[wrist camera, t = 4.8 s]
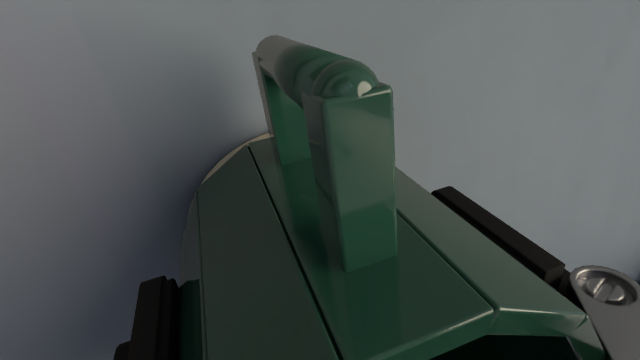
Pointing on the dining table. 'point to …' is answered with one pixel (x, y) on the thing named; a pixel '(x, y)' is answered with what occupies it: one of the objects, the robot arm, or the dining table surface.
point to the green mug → (349, 242)
